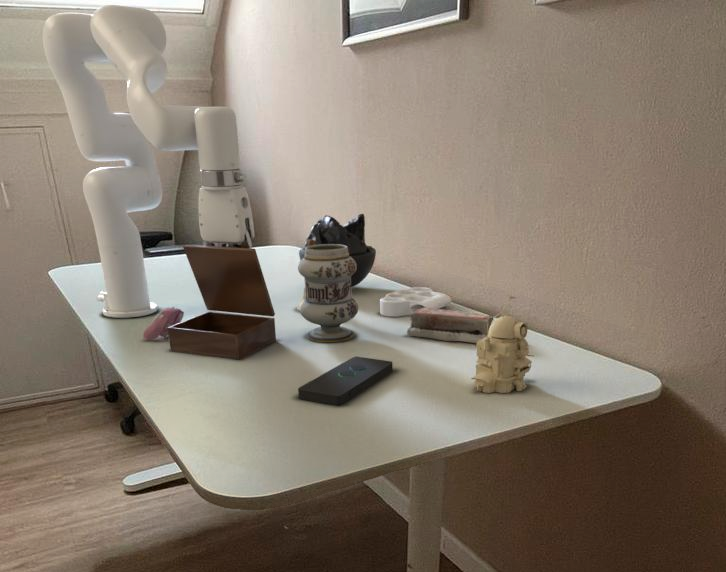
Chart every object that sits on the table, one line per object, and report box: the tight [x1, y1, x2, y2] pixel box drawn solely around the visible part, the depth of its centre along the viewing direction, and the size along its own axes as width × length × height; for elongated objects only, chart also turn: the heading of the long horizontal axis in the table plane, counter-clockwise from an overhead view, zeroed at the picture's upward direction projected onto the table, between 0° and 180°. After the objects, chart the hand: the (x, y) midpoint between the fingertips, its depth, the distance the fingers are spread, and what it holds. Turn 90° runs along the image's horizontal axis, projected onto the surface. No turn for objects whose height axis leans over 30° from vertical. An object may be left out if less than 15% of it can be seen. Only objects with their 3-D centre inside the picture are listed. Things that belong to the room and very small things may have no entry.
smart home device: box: [297, 356, 394, 406], centre depth 122 cm, size 8×2×20 cm
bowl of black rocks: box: [298, 213, 377, 288], centre depth 185 cm, size 20×20×19 cm
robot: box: [470, 294, 535, 394], centre depth 116 cm, size 10×8×15 cm
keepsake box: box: [167, 310, 277, 360], centre depth 143 cm, size 14×16×5 cm
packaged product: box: [406, 308, 495, 344], centre depth 147 cm, size 18×5×10 cm
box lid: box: [182, 243, 276, 318], centre depth 142 cm, size 15×16×1 cm
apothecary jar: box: [297, 244, 360, 343], centre depth 145 cm, size 12×12×18 cm
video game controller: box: [142, 306, 185, 342], centre depth 150 cm, size 10×5×7 cm, turn 168°
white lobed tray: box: [379, 286, 452, 318], centre depth 168 cm, size 3×18×15 cm
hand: (230, 278), depth 144 cm, fingers closed
